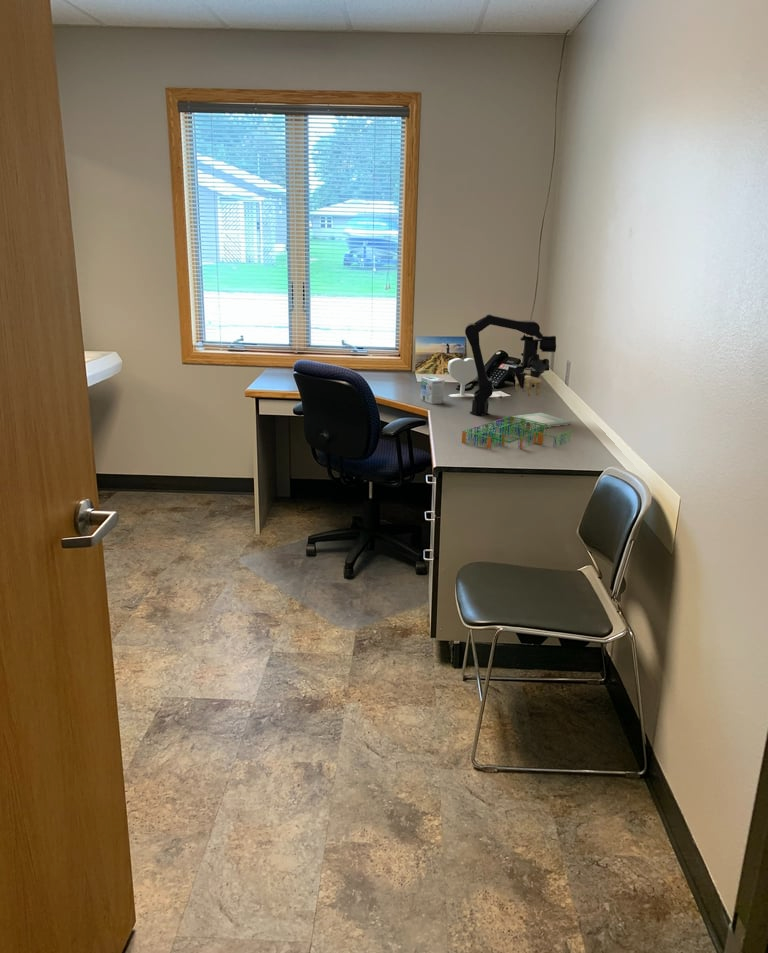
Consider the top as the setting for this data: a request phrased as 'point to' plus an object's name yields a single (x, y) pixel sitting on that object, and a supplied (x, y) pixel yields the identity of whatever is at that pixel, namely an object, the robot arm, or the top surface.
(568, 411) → the top surface
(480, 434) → the house model
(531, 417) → the sage board
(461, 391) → the heart sculpture
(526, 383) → the maple stool
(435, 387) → the light bulb box
